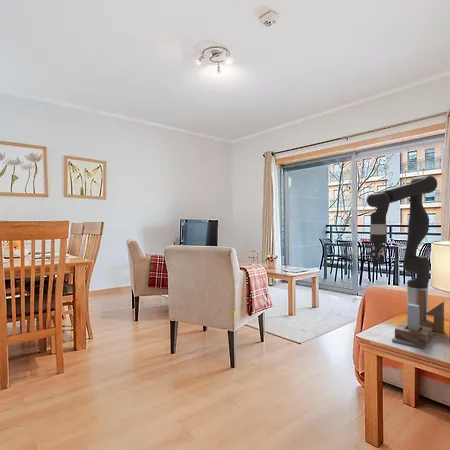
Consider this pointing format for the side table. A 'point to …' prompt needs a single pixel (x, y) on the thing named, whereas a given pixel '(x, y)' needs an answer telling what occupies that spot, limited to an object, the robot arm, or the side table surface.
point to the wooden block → (431, 313)
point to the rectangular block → (414, 317)
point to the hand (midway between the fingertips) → (378, 265)
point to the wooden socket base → (413, 336)
